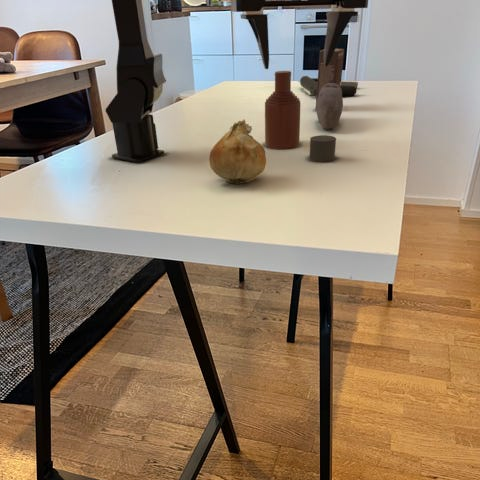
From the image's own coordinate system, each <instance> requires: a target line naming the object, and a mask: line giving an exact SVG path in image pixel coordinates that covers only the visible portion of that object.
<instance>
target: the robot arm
mask: <svg viewBox="0 0 480 480" xmlns="http://www.w3.org/2000/svg"><path fill="white" fill-rule="evenodd" d="M111 5H112V11H113V16H114V23H115V28H116V34H117V41H118V50H117V59H116V67H115V71H116V94H115V96H114V97H113V98H112V99H111V101H110V102H109V104H108V105H107V106H106V107H105V113H106V115H107V117H108V119H109V121H110V123H112V124H111V125H112V129H113V134H114V141H115V146H116V153H112V154H111V158H112V159H118V160H123V161H127V162H133V163H142V162H144V161H146V160H147V161H148V160H150V159H152V158H155V157H158V156H161V155H164V154H165V150H164V149H159V143H158V135H157V126H156V124H155V121H154V115H153V114H151V113H152V112H153V109H154V104H155V102H157V101H158V100H159V98H160V97H161V95H162V94H163V87H164V86H163V85H164V84H165V83H167V79H166V76H165V74H164V71H163V60H164V59H163V54H162V53H158V54H155V55H154V52H153V50H152V48H151V46H150V43H149V40H148V34H147V33H148V32H147V28H146V27H147V26H146V18H145V13H144V7H143V6H144V5H143V0H111ZM308 6H311V7H313V6H331V7H330V11H326V24H327V25H326V34H325V39H324V40H325V41H324V47H323V48H324V63H323V65H324V66H325V67H326V66H328V65H329V62H330V60H331V58H332V55H333V53H334V51H335V49H337V46H338V44H339V41H340V39H341V38H342V35H343V33H344V32H345V30H346V28H347V26H348V24H349V23H350V21H351V19H352V17H357V16H358V15H359V11H355V10H356V9H368V6H369V0H230V12H231V13H232V12H234V13H242V14H240V19H242V20H247V22H248V24H249V26H250V28H251V30H252V32H253V35H254V37H255V40H256V43H257V47H258V50H259V53H260V57H261V60H262V64H263V68H264V69H265V70H269V66H270V43H269V42H270V41H269V22H268V14H267V13H264V9H265V8H273V7H278V8H279V7H280V8H281V7H308Z"/></svg>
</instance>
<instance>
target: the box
mask: <svg viewBox="0 0 480 480" xmlns="http://www.w3.org/2000/svg"><path fill="white" fill-rule="evenodd" d="M344 57H345V49H344V48H335V51H334V53H333V55H332V58H331V60H330V62H329V65H328V66H326V67H325V66H324V65H323V63H324V49H321V50H320V51H319V59H318V69H317V70H318V71H317V78H318V82H317V95H316V96H315V104H316V103H317V98H318V95H319V92H320V90H321V89H322V87H323V86H324V85H326V84H327V83H335V84H338V85H339V86H340V88H341V82H342V75H343V67H344ZM315 111H316V107H315Z"/></svg>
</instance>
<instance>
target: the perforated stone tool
mask: <svg viewBox="0 0 480 480" xmlns="http://www.w3.org/2000/svg"><path fill="white" fill-rule="evenodd" d="M343 101H344V99H343V96H342V90H341V88H340V86H339V85H338V84H335V83H327V84H326V85H324V86H323V87H322V89H321V90H320V92H319V95H318V98H317V103H316V102H315V108H316V110H315V111H316V115H317V116H316V117H317V120H318V122H319V124H320V126H321V127H322V128H323V129H325V130H332V129H333V128H335V127H336V126H337V124H338V123H339V122H340V118H341V116H342V113H343V107H344V102H343Z"/></svg>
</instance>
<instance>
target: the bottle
mask: <svg viewBox="0 0 480 480" xmlns="http://www.w3.org/2000/svg"><path fill="white" fill-rule="evenodd" d="M300 129H301V100H300V98H299V97H298V95H296V93H294V92H293V91H292V71H291V70H277V71H275V72H274V91H272V93H271V94H270V95H269V96H268V97H267V98H266V99H265V102H264V145H265V147H266V148H268V149H269V148H270V149H273V150H287V149H288V150H289V149H294V148H297V147H299V145H300V136H301V135H300V134H301V133H300V131H301V130H300Z"/></svg>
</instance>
